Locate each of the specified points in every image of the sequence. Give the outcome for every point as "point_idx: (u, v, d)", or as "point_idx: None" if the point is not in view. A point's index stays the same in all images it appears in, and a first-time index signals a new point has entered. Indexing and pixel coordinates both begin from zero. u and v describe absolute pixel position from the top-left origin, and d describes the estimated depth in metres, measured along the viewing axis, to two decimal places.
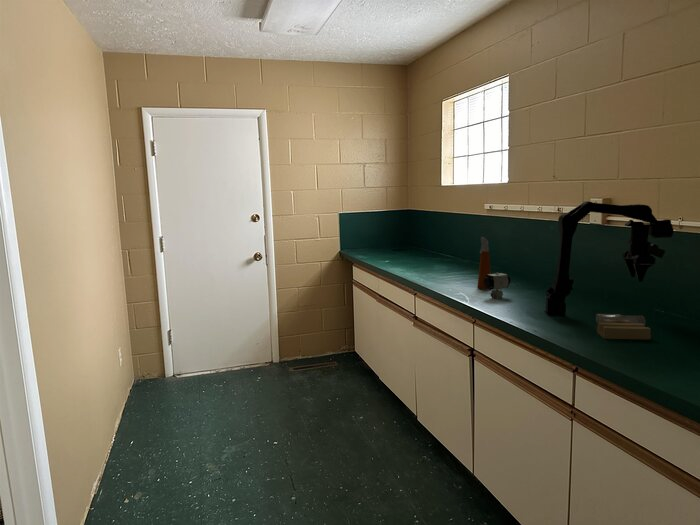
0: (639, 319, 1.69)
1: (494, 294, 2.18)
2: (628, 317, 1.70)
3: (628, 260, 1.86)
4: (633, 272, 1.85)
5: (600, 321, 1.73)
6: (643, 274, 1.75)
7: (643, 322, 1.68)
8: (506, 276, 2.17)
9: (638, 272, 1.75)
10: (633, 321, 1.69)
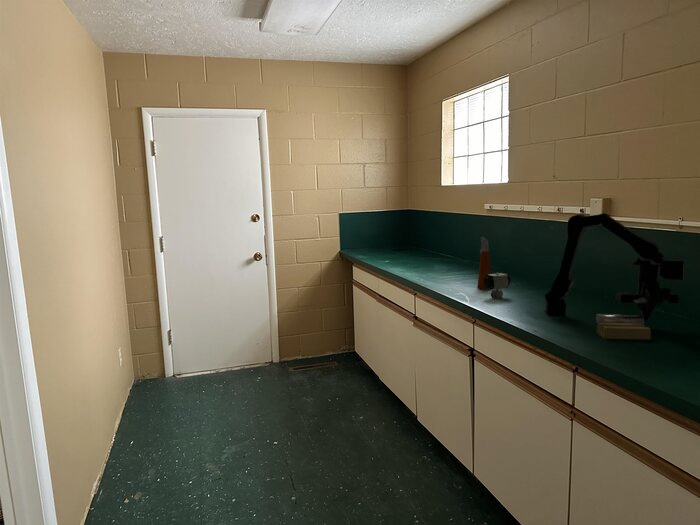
0: (638, 320, 1.68)
1: (494, 294, 2.18)
2: (627, 318, 1.69)
3: (646, 302, 1.71)
4: None
5: (598, 321, 1.72)
6: (642, 313, 1.69)
7: None
8: (506, 276, 2.17)
9: (639, 310, 1.71)
10: (632, 322, 1.68)
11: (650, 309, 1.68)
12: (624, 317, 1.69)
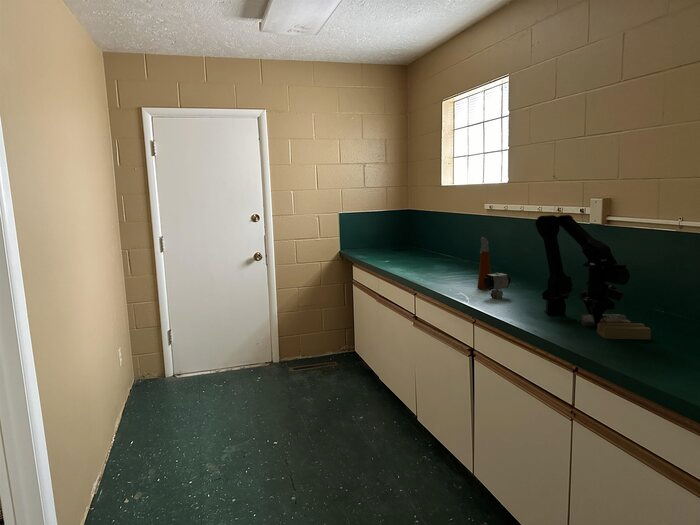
0: (621, 318, 1.70)
1: (494, 294, 2.18)
2: (610, 316, 1.71)
3: (588, 303, 1.75)
4: None
5: (582, 320, 1.74)
6: (599, 317, 1.69)
7: None
8: (506, 276, 2.17)
9: (595, 315, 1.69)
10: None
11: None
12: (607, 316, 1.71)
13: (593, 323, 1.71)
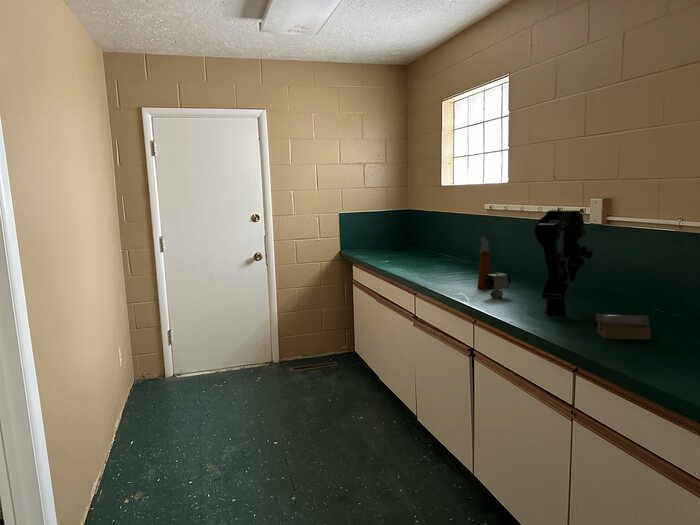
0: (643, 319, 1.57)
1: (494, 294, 2.18)
2: (630, 317, 1.58)
3: (561, 261, 2.02)
4: (566, 272, 2.02)
5: (600, 321, 1.61)
6: (574, 274, 1.92)
7: (647, 322, 1.57)
8: (506, 276, 2.17)
9: (570, 272, 1.92)
10: (636, 321, 1.57)
11: None
12: (627, 316, 1.59)
13: (613, 324, 1.59)
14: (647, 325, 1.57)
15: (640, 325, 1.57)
